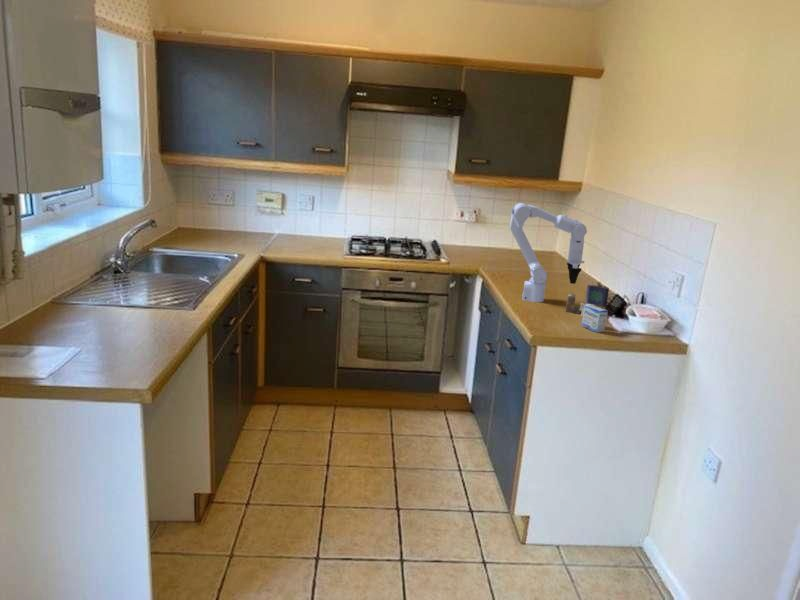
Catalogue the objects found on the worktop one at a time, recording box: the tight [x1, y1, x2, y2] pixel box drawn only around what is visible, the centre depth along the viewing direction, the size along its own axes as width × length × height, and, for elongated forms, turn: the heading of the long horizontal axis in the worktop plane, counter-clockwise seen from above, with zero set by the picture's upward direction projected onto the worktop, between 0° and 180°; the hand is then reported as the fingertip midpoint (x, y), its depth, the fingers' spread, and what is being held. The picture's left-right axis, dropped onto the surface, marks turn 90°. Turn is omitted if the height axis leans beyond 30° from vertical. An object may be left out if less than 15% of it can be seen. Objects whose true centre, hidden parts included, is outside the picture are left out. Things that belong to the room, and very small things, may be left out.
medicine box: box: [581, 304, 609, 333], centre depth 228 cm, size 8×4×9 cm, turn 31°
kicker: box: [565, 293, 580, 315], centre depth 247 cm, size 5×5×7 cm
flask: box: [584, 281, 610, 307], centre depth 261 cm, size 9×3×11 cm, turn 59°
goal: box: [579, 302, 594, 317], centre depth 247 cm, size 5×9×3 cm, turn 167°
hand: (572, 281), depth 259 cm, fingers open, 7 cm apart
